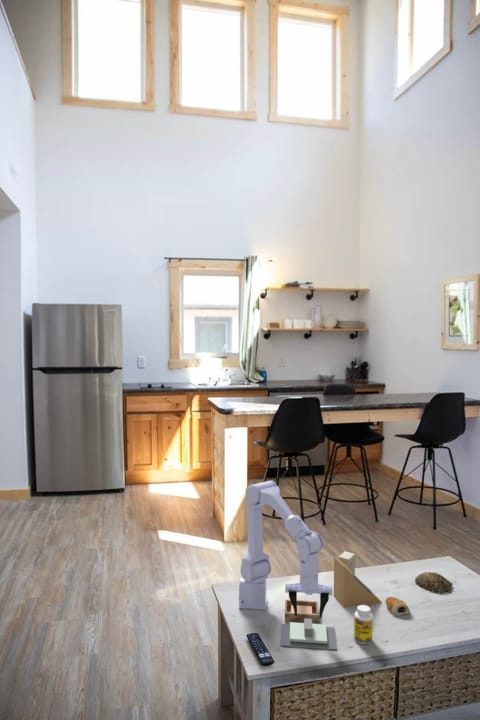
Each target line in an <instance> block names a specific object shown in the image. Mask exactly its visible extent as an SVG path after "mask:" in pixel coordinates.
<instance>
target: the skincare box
mask: <svg viewBox="0 0 480 720" xmlns="http://www.w3.org/2000/svg"><path fill="white" fill-rule="evenodd" d="M337 559H338V560H340V561H341V562H342V563H343V564H344V565H345V566H346V567H348V568H349V569H350V571H351V572H352V573H353V574H354V575H355V576H356V553H353V552H349V551H346V550H345V551H343V552H342V553H341V554H340V555H339V556H338V557H337Z"/></svg>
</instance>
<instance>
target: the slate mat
mask: <svg viewBox="0 0 480 720" xmlns="http://www.w3.org/2000/svg"><path fill="white" fill-rule="evenodd" d="M280 629H281V630H280V645H279V646H280V647H284V648H296V649H297V648H300V649H313V650H327V651H337V649H338V646H337V638H336V631H335V630H336V629H335V627H334V626H326V633H327V644H323V643H308V642H293V641H290V623H288V624H287V623H281V626H280Z"/></svg>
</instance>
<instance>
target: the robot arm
mask: <svg viewBox="0 0 480 720" xmlns="http://www.w3.org/2000/svg"><path fill="white" fill-rule="evenodd" d="M280 493H281V490H280V487H279V486H278V485H277V483H276V482H275V481H274V480H268V481H267V480H266V481H262V482H259V483H255V484H250V485H248V486H247V487H246V488H245V507H246V528H247V529H246V530H247V531H246V533H247V552H246V553H245V555H244V556H243V557H242V558H241V565H240V571H239V572H240V575H241V577H240V579H239V585H238V587H239V588H238V608H239V609H245V610H246V609H247V610H261V611H262V610H263V611H265V610H267V606H268V597H266V595H267V579H268V578H269V577H268V576H269V575H270V574H271V572H272V564H271V562H270V555H269V554H267V553H266V552H265V551H264V535H263V534H264V533H263V532H264V531H263V509H262V508H263V507H264V506H270V507H271V508H272V509H273V510H274V511H275V512H276V513H277V515H278V516H279V517H280V518H281V519H282V520H283V521H284V529H286V530H287V532H288V533H289V535H290V536H291V537H292V538H293V540H294V541H295V547H296V550H297V552H298V558H299V582H296V583H295V582H294V583H285V589H284V591H285V592H284V593H285V594H286V593H287V594H288V599H289V600H291V603H292V605H293V608H294V613H295V616H297V600H298V598H297V597H298V593H303V594H305V595H307V596H312V595H313V594H319V598H320V599H319V609H318V616H319V618H320V619H322V618H323V614H324V610H325V607H326V606H327V603H329V601H330V597H329V596H333V586H329V585H324V584H320V583H319V558H320V557H319V554H320V553H319V552H321V551H322V549H323V546H324V544H323V539H322V537H321V535H320V534H319V533H318V532H316V531H313V530H312V529H310V528H309V527H308V526H307V524H306V523H305V522H304V520H303V519H302V517H300V516H299V515H295V514H293V513H292V511H291V509H290V507H288V505H287V503H286V502H285V500H284V498H283V497H282V496H281V494H280Z"/></svg>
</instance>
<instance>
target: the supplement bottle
mask: <svg viewBox="0 0 480 720" xmlns="http://www.w3.org/2000/svg"><path fill="white" fill-rule="evenodd" d="M356 607H357V608H356V611H355V612H354V616H353V617H354V619H353V620H354V621H353V622H354V623H353V624H354V625H353V627H354V628H353V639H354V640H355V642H357V643H359V644H362V645H368V644H371V642H373V626H374V625H373V623H374V616H373V613H372V612H371V608H370V606H368V605H359V606H356Z"/></svg>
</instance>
